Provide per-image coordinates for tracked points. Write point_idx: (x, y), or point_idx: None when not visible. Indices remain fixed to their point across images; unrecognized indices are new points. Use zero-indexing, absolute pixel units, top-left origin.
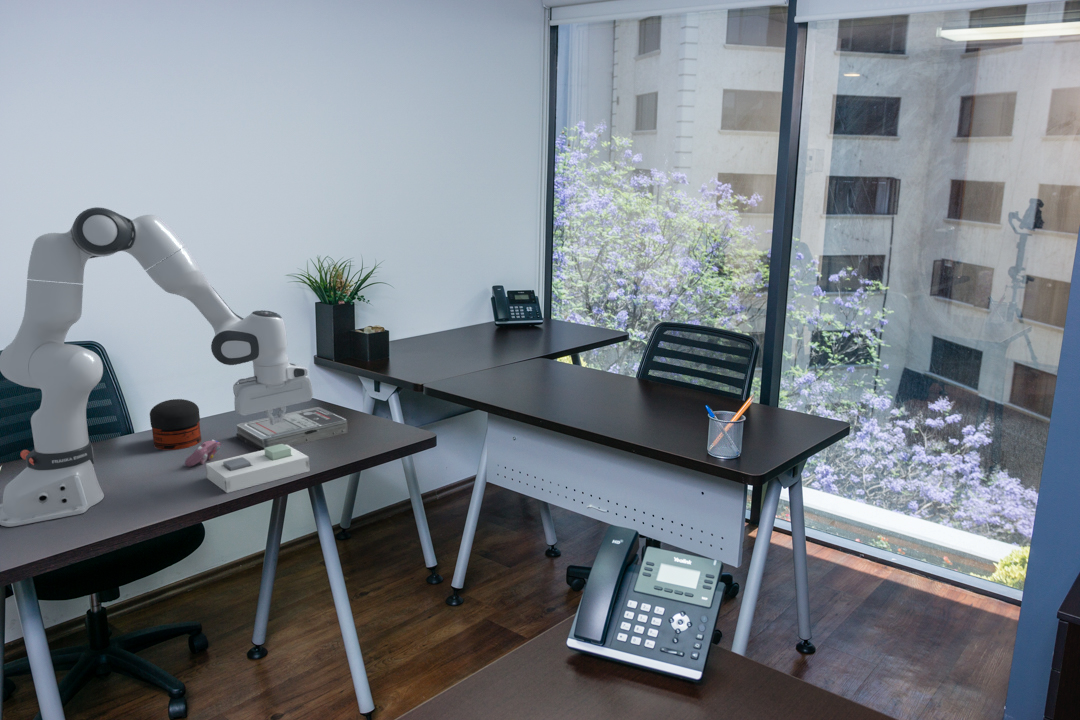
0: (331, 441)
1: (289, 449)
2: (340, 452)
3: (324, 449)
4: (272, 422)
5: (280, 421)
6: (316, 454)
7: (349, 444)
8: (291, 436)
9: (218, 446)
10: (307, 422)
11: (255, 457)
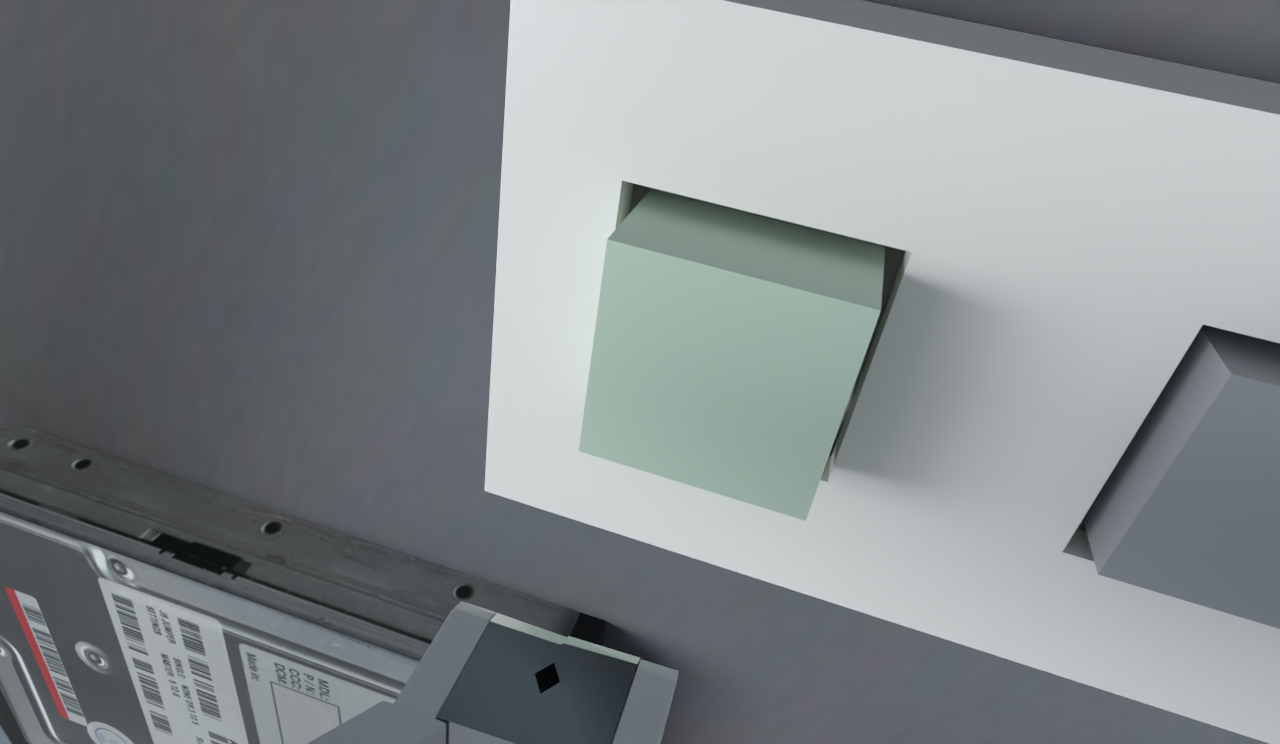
0: (140, 392)
1: (629, 239)
2: (149, 143)
3: (235, 312)
4: (665, 720)
5: (501, 642)
6: (327, 280)
7: (41, 231)
8: (347, 606)
9: None
10: (160, 661)
11: (935, 492)
